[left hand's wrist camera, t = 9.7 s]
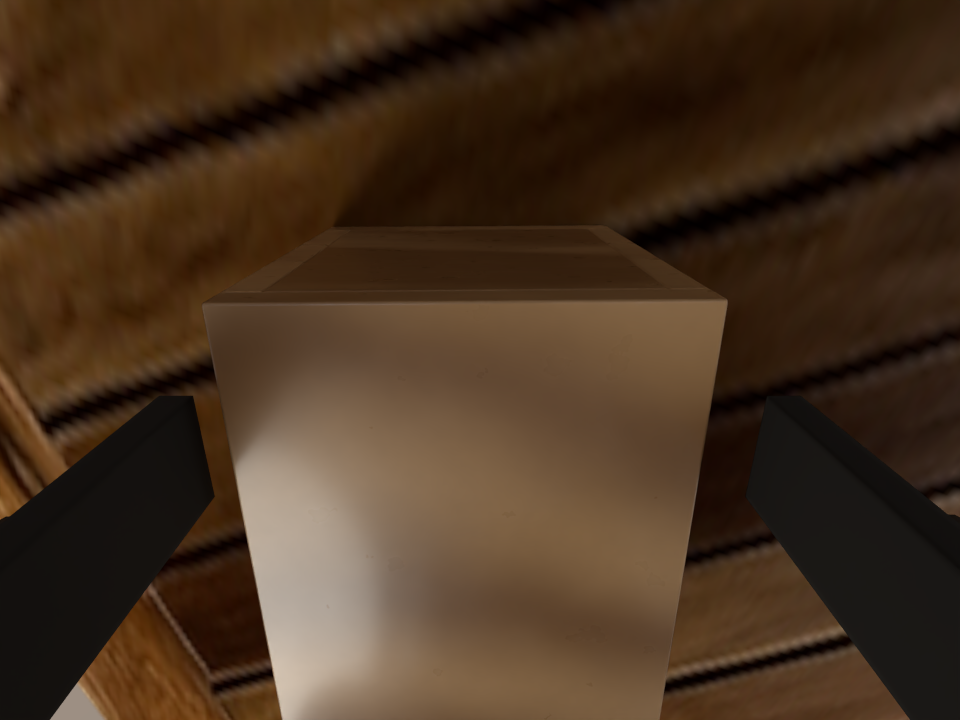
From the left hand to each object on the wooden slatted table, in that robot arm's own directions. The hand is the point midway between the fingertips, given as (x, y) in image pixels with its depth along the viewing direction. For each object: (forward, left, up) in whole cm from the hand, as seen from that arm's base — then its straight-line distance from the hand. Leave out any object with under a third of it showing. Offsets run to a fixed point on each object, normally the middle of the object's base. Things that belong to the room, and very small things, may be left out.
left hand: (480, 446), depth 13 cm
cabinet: (+2, +4, -11) cm, 12 cm away
